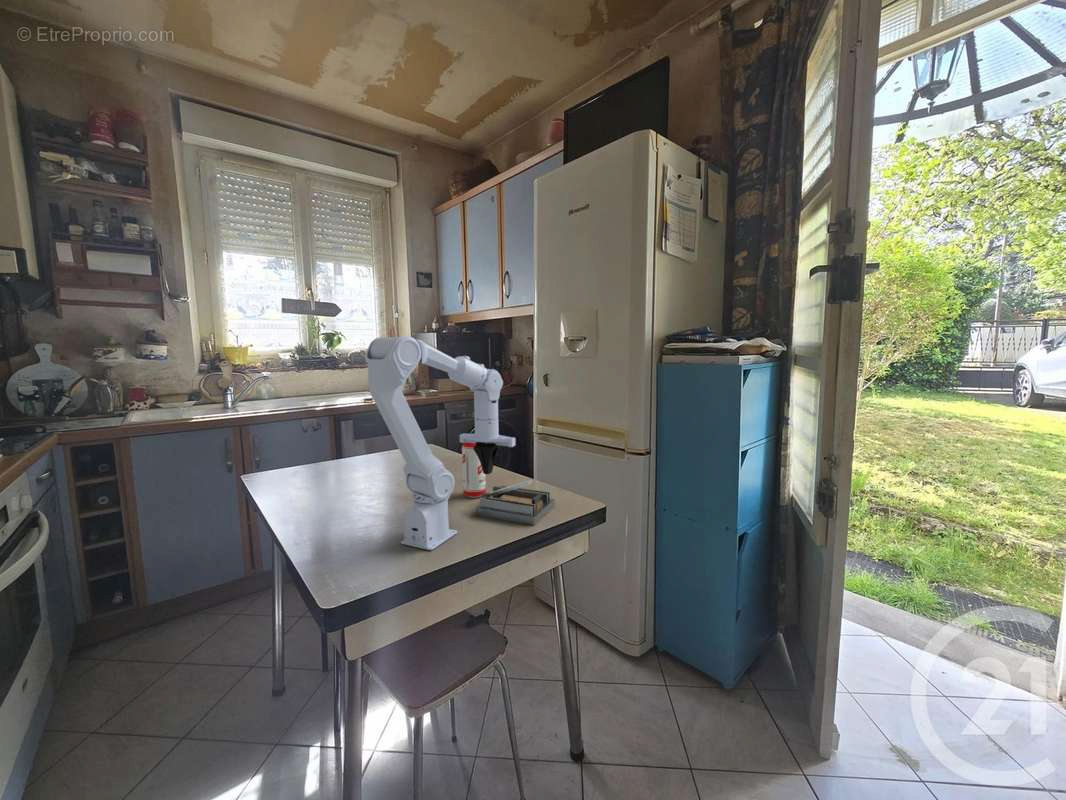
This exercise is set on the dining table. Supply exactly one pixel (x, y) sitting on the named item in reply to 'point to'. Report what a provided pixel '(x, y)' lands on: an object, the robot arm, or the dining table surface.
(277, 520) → the dining table surface
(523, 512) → the heatsink block
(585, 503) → the dining table surface
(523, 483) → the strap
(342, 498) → the dining table surface
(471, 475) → the beer can
